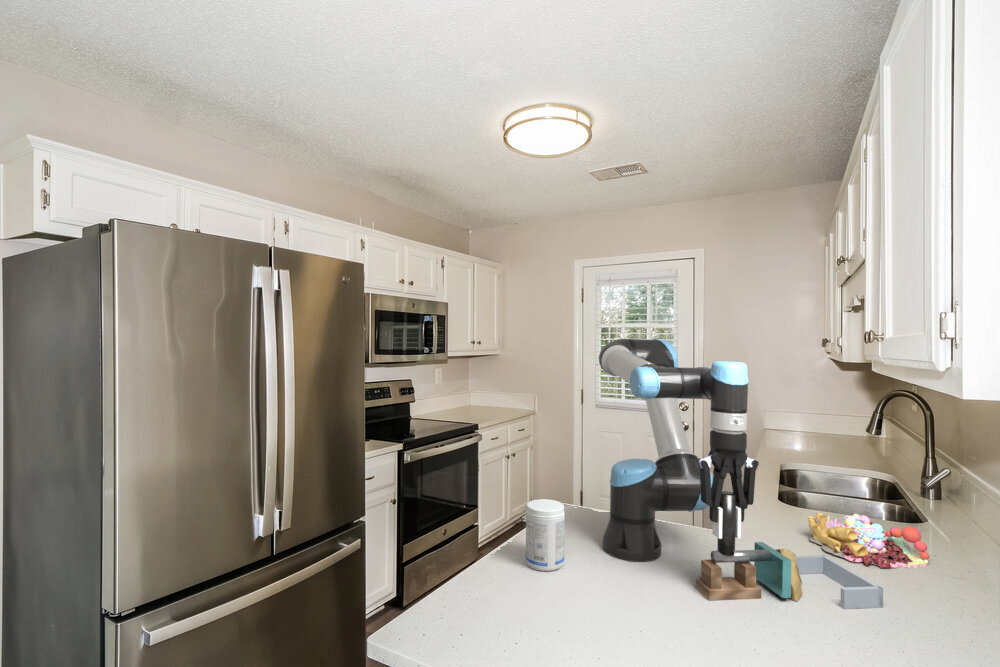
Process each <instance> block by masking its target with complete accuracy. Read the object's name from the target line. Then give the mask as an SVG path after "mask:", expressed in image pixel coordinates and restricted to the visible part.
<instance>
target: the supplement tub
mask: <svg viewBox="0 0 1000 667" xmlns="http://www.w3.org/2000/svg"><path fill="white" fill-rule="evenodd" d="M525 511H526V512H525V561H526V562H525V563H526V565H528V566H529V567H530V568H531V569H533V570H536V571H540V572H553V571H557V570H559V569H561V568H563V566H564V564H565V534H566V533H565V528H566V527H565V519H566V518H565V517H566V516H565V514H566V512H565V505H564V504H563V503H562V502H561V501H558V500H554V499H545V498H542V499H540V498H539V499H534V500H531V501H529V502H527V503H526V510H525Z"/></svg>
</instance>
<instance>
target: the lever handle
mask: <svg viewBox="0 0 1000 667" xmlns="http://www.w3.org/2000/svg"><path fill="white" fill-rule="evenodd" d="M719 507H720V508H722V509H723V515H722V539H719V538H717V545H716V546H717V550H712V551H711V552H710V559H711V560H712V562H713V563H716V564H718V563H719V564H720V563H722V564H723V563H725V564H726V563H734V562H750V563H754V564H753V565H754V566H755V567H756V580H758V581H760V583H762V584H763V585H765V586H766V587H767V588H769V590H771V591H773V592H774V593H775V594H777V595H778V596H779V597H780V598H782V599H784V598H785V599H789V598H791V560H790V559H789V558H787V557H786V556H784V555H782V554H781V553H779V552H778V551H776V549H775V548H773V547H771V546H769V545H768V544H767V543H765V542H763V541H754V549H743V550H741V549H739V550H736V537H735V525H736V494H735V493H733V491H732V492H731V491H727V490H722V494H721V499H720V505H719Z"/></svg>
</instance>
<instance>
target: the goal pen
mask: <svg viewBox="0 0 1000 667" xmlns="http://www.w3.org/2000/svg"><path fill="white" fill-rule="evenodd" d="M795 557H796V565H797V567H798V570H799V575H812V574H815V575H817V574H823V575H824V576H827V577H828V578H829V579H831V580H833V581H835V582H836V583H838V584H839V585H841V586H842V587H840V604H839V606H840V608H842V609H844V610H852V609H853V610H854V609H856V610H857V609H873V608H874V609H878V608H879V609H880V608H884V588H883V587H881V586H879V585H878V584H876V583H874V582H873V581H871V580H869V579H868V578H865V577H864V576H862V575H860V574H858V573H857V572H855V571H853V570H851V569H849V568H847V567H846V566H844V565H842V564H840V563H839V562H837V561H836V560H833V559H832V558H830V557H828V556H827V555H824V554H820V555H819V554H815V555H811V554H810V555H796V556H795Z"/></svg>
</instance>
